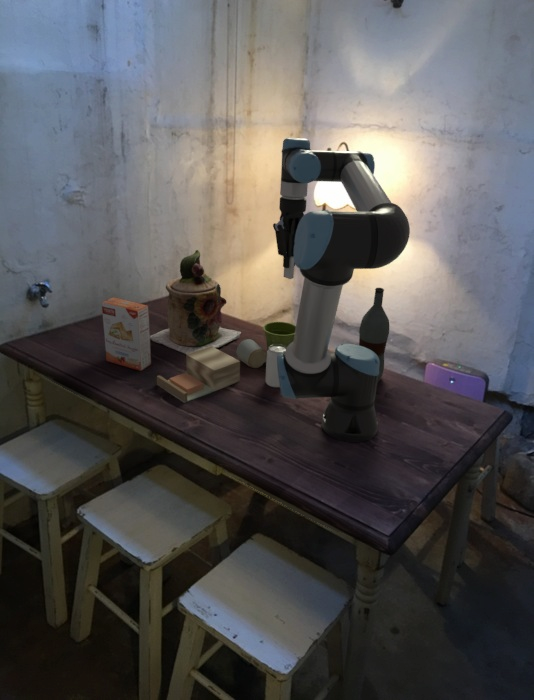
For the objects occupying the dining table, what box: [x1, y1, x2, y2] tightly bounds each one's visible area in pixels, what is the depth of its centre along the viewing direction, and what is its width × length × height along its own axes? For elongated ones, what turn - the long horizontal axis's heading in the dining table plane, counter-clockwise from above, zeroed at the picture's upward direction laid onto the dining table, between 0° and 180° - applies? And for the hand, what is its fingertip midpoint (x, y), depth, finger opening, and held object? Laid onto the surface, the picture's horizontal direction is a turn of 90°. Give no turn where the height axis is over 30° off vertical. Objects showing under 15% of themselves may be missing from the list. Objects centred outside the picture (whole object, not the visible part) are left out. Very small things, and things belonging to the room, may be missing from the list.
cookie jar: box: [150, 249, 242, 355], centre depth 199 cm, size 25×25×32 cm
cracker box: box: [101, 297, 152, 372], centre depth 182 cm, size 14×6×21 cm, turn 64°
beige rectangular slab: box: [185, 346, 241, 392], centre depth 178 cm, size 14×10×7 cm
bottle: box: [358, 287, 390, 383], centre depth 178 cm, size 9×9×30 cm
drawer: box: [156, 374, 215, 404], centre depth 172 cm, size 14×11×3 cm
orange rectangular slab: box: [168, 372, 204, 395], centre depth 172 cm, size 9×6×2 cm, turn 44°
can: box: [265, 345, 286, 389], centre depth 175 cm, size 6×6×12 cm
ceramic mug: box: [235, 338, 267, 369], centre depth 189 cm, size 11×8×8 cm
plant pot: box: [262, 321, 296, 352], centre depth 192 cm, size 12×12×11 cm
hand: (288, 277), depth 170 cm, fingers closed
